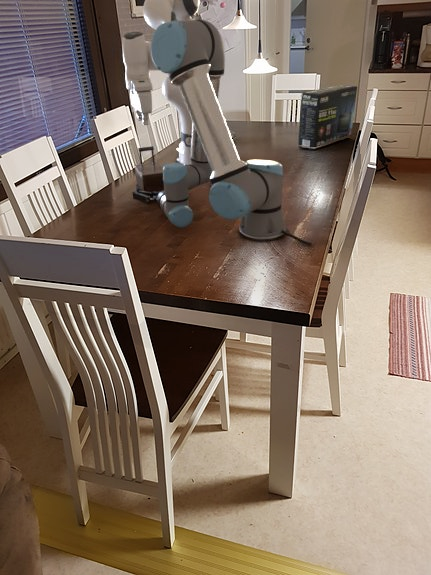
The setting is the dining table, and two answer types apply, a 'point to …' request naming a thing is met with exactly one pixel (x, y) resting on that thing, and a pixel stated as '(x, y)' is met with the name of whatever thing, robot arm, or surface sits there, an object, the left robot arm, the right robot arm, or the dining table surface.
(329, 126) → the router box
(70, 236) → the dining table surface
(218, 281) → the dining table surface
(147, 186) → the chest
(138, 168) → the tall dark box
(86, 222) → the dining table surface
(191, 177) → the right robot arm
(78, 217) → the dining table surface
